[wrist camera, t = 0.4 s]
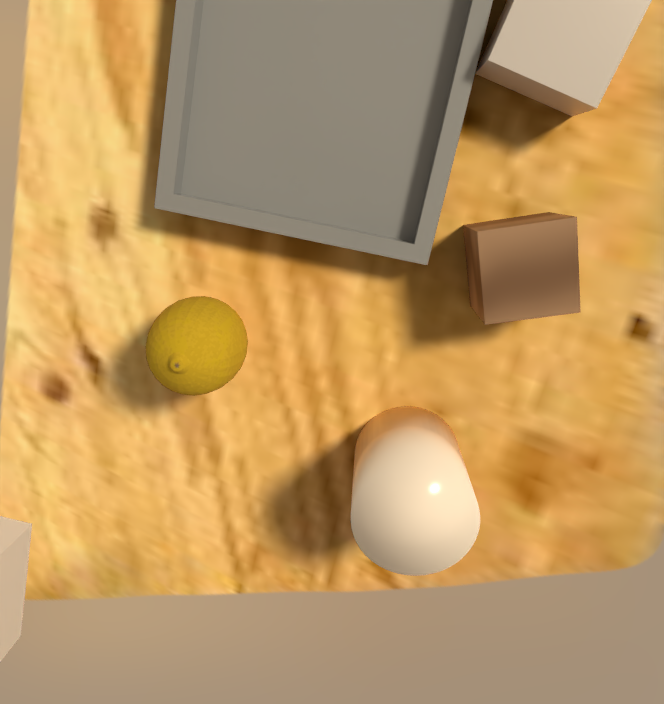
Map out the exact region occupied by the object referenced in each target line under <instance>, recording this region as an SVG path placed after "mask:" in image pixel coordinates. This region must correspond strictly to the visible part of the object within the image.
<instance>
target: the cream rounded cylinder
mask: <svg viewBox="0 0 664 704" xmlns="http://www.w3.org/2000/svg"><path fill="white" fill-rule="evenodd" d="M479 527H480V511H479V507H478V503H477V500H476V497H475V494H474V491H473V488H472V485H471V482H470V479H469V476H468V473H467V470H466V467H465V464H464V461H463V458H462V455H461V452H460V449H459V445H458V442H457V440H456V437H455V435H454V433H453V431H452V429H451V428H450V427H449V425H448V424H447V423H446V422H445V421H444V420H443V419H442V418H440V417H439V416H438V415H436V414H434V413H432V412H430V411H428V410H426V409H422V408H418V407H408V406H404V407H396V408H392V409H389V410H386V411H384V412H382V413H380V414H378V415H376V416H375V417H373V418H372V419H371V420H370V421H369V422H368V423H367V424H366V425H365V426H364V428H363V429H362V431H361V432H360V434H359V436H358V439H357V442H356V446H355V456H354V472H353V487H352V503H351V528H352V532H353V536H354V538H355V540H356V542H357V544H358V546H359V547H360V549H361V550H362V551H363V553H364V554H365V555H366V556H367V557H368V558H369V559H370V560H371V561H373V562H374V563H376V564H377V565H379V566H380V567H382V568H384V569H386V570H389V571H391V572H395V573H398V574H404V575H415V576H417V575H427V574H433V573H436V572H439V571H442V570H444V569H447V568H449V567H450V566H452V565H454V564H455V563H457V562H458V561H459V560H461V559H462V558H463V557H464V556H465V555H466V554H467V553H468V551H469V550H470V549H471V547H472V546H473V544H474V542H475V540H476V538H477V535H478V531H479Z"/></svg>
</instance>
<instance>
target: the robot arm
mask: <svg viewBox="0 0 664 704" xmlns="http://www.w3.org/2000/svg"><path fill="white" fill-rule="evenodd" d="M31 529H32V524H30V523H26V522H22V521H18V520H14V519H10V518H6V517H2V516H0V662H1V661H2V659H3V658H4V657H5V655H6V654H7V653H8V652H9V650H10V649H11V648H12V647H13V645H14V644H15V643H16V641H17V640H18V639H19V638H20V636H21V629H22V619H23V609H24V599H25V589H26V579H27V569H28V559H29V549H30V539H31Z"/></svg>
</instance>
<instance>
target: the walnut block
mask: <svg viewBox="0 0 664 704" xmlns="http://www.w3.org/2000/svg"><path fill="white" fill-rule="evenodd" d="M463 229H464V240H465V251H466V262H467V273H468V285H469V296H470V306H471V307H472V309H473V310H474V311H475V313H476V314H477V315H478V316H479V318H480V319H481V320H482V321H483V323H484V324H485V325H487V324H494V323H502V322H510V321H517V320H525V319H533V318H541V317H548V316H556V315H564V314H571V313H579V312H580V289H579V262H578V235H577V217H574V216H568V215H562V214H556V213H550V212H547V213H541V214H534V215H527V216H520V217H514V218H507V219H500V220H494V221H487V222H480V223H474V224H467V225H463Z"/></svg>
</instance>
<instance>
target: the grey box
mask: <svg viewBox="0 0 664 704" xmlns="http://www.w3.org/2000/svg"><path fill="white" fill-rule="evenodd" d="M651 1H652V0H507V2H506V4H505V6H504V9H503V11H502V13H501V15H500V18H499V20H498V22H497V25H496V27H495V29H494V31H493V34H492V36H491V38H490V41H489V43H488V45H487V47H486V50H485V52H484V54H483V56H482V59H481V61H480V63H479V66H478V68H477V70H476V72H475V74H477V75H479V76H481V77H483V78H486V79H488V80H490V81H493V82H495V83H497V84H499V85H502V86H504V87H506V88H508V89H511V90H513V91H515V92H517V93H520V94H522V95H524V96H527V97H529V98H531V99H533V100H536V101H538V102H540V103H542V104H545V105H547V106H549V107H551V108H554V109H556V110H558V111H561V112H563V113H565V114H567V115H570V116H575V115H578V114H581V113H584V112H587V111H590V110H593V109H596V108H597V107H598V105H599V103H600V101H601V99H602V97H603V95H604V93H605V91H606V89H607V87H608V85H609V83H610V82H611V80H612V78H613V76H614V74H615V72H616V70H617V68H618V66H619V64H620V62H621V60H622V58H623V56H624V54H625V52H626V50H627V48H628V46H629V44H630V42H631V40H632V38H633V36H634V34H635V32H636V30H637V28H638V26H639V24H640V22H641V20H642V18H643V16H644V14H645V12H646V10H647V8H648V6H649V4H650V3H651Z"/></svg>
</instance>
